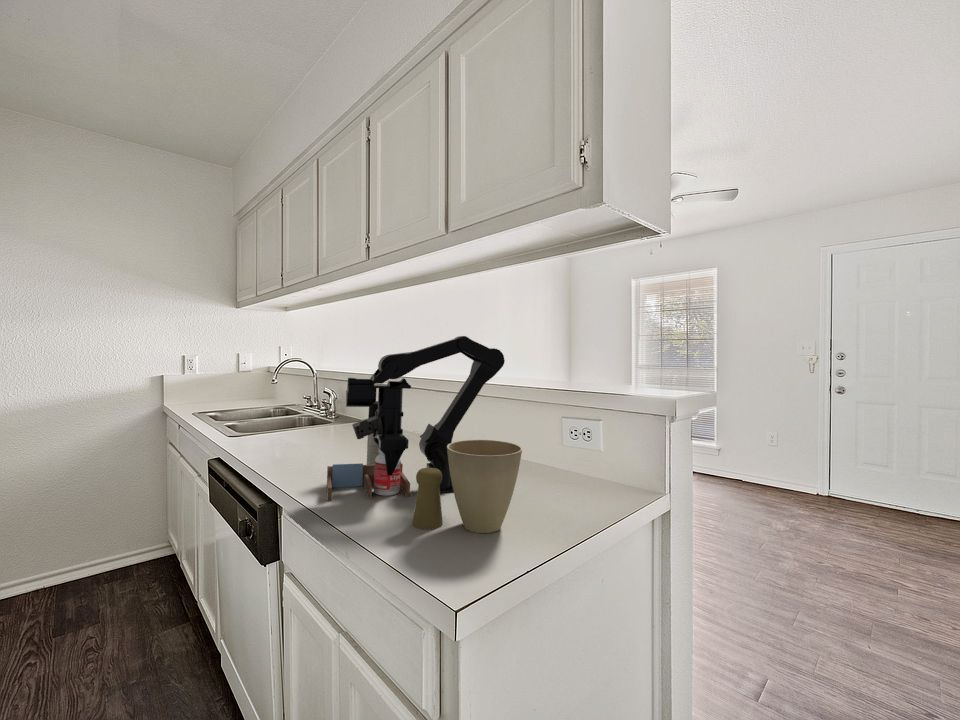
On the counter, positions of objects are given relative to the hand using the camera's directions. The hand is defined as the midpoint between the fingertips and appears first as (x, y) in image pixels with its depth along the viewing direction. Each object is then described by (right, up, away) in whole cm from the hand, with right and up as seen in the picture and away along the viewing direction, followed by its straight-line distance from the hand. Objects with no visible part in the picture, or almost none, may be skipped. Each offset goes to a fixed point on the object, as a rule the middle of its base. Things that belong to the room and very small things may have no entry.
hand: (387, 471), depth 111 cm
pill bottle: (0, -5, 0) cm, 5 cm away
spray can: (-6, -5, +15) cm, 17 cm away
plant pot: (+22, -6, -20) cm, 30 cm away
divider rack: (-5, -5, 0) cm, 7 cm away
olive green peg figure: (+12, -6, -19) cm, 23 cm away
